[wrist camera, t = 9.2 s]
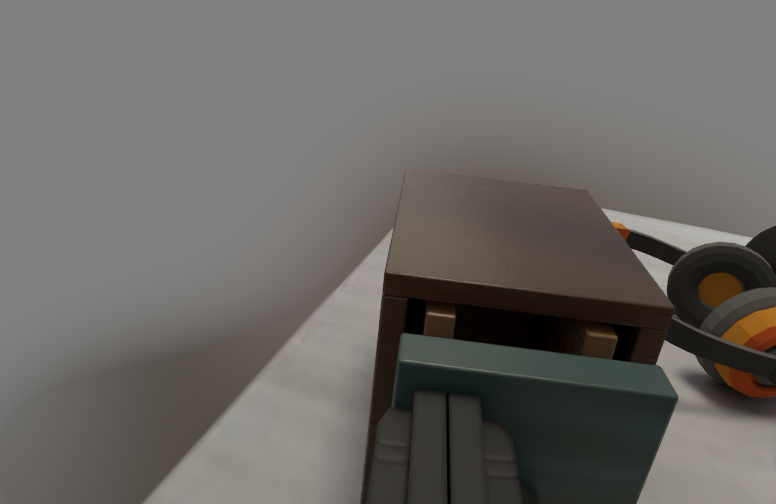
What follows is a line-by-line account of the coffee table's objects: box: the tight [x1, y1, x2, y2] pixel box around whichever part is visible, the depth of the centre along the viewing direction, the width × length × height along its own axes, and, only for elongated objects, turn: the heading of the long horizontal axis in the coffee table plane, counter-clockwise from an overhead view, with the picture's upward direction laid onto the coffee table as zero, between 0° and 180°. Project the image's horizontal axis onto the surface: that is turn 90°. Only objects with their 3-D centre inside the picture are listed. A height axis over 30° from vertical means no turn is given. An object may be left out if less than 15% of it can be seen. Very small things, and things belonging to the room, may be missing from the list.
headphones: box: [611, 222, 776, 398], centre depth 28 cm, size 17×5×20 cm
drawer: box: [391, 299, 678, 504], centre depth 17 cm, size 10×6×8 cm, turn 175°
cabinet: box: [360, 169, 675, 504], centre depth 20 cm, size 9×7×9 cm
